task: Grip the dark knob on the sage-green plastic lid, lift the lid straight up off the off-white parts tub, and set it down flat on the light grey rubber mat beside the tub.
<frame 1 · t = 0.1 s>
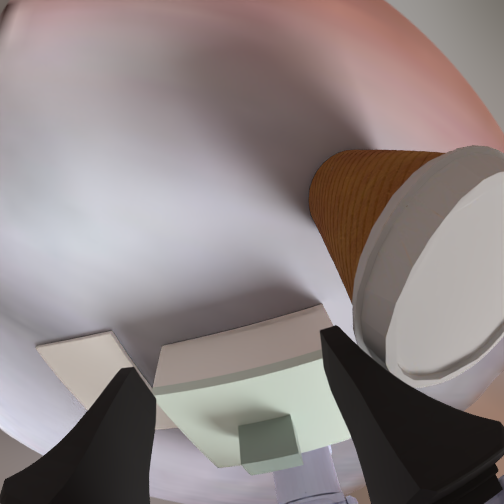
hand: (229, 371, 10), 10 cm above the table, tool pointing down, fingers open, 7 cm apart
disposable coffee cup: (352, 196, 18), on the table
tub: (260, 380, 24), on the table
lid: (266, 420, 20), point 4 cm above the table, touching tub
mat: (109, 390, 24), on the table
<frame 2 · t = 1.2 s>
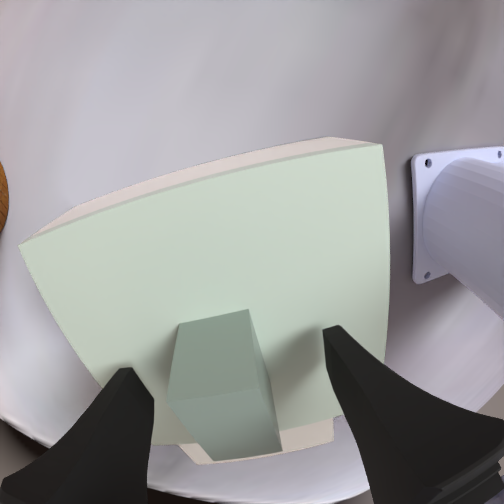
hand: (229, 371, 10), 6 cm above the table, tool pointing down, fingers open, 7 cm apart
tub: (227, 286, 16), on the table
lid: (228, 342, 11), point 4 cm above the table, touching tub
mat: (252, 432, 22), on the table
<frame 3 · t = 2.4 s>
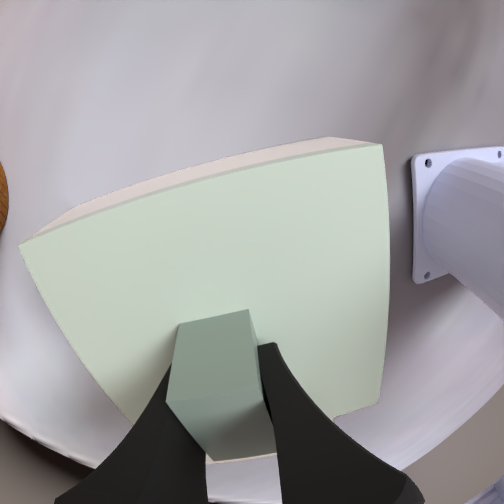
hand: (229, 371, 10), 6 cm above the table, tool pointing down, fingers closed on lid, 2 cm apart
tub: (226, 286, 15), on the table
lid: (228, 342, 11), point 4 cm above the table, touching gripper, tub
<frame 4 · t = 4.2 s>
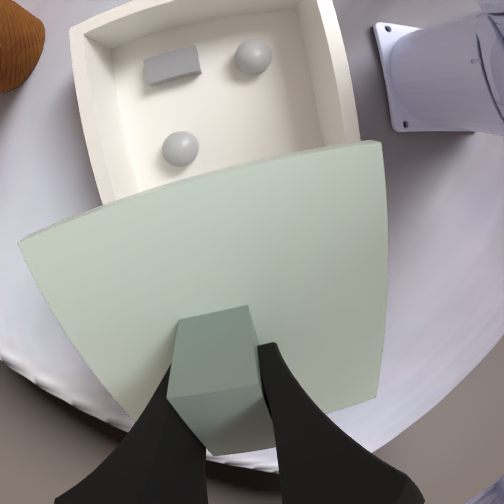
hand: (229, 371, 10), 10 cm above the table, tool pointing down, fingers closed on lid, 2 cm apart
disposable coffee cup: (16, 53, 12), on the table
tub: (217, 106, 16), on the table
lid: (227, 338, 12), point 9 cm above the table, touching gripper
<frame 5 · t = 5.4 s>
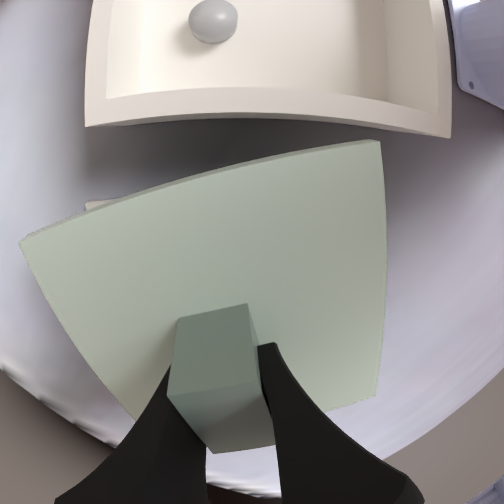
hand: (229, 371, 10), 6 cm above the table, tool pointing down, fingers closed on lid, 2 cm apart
lid: (227, 336, 12), point 4 cm above the table, touching gripper
when the fingers open (4 cm above the table, at t = 6.4 s): lid drops 1 cm, resting on mat.
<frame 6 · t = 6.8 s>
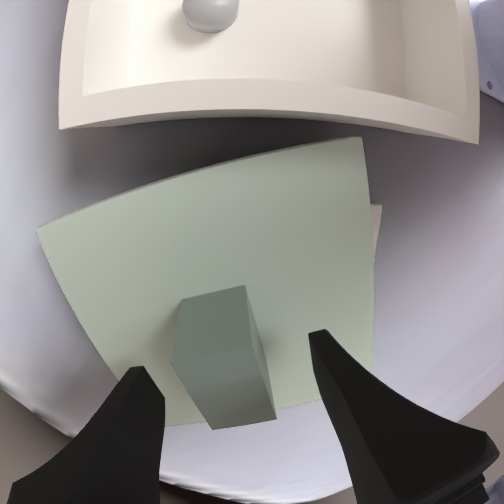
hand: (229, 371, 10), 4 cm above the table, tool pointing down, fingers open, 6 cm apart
lid: (226, 319, 13), point 1 cm above the table, touching mat
mat: (227, 304, 14), on the table
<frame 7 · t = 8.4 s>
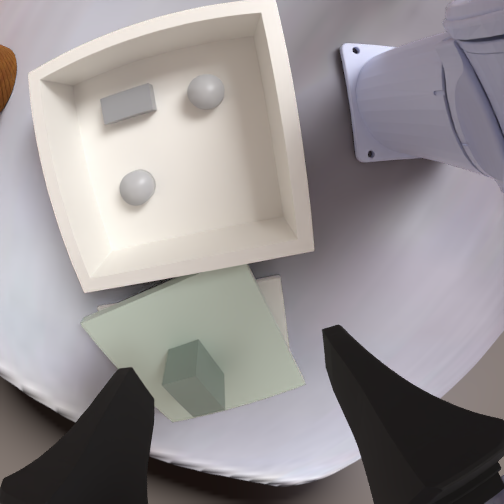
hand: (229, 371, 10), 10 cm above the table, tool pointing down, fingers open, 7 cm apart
tub: (173, 143, 16), on the table
lid: (197, 355, 21), point 1 cm above the table, touching mat
mat: (199, 344, 22), on the table
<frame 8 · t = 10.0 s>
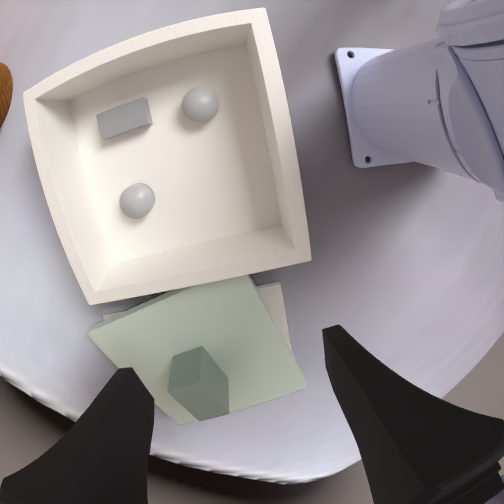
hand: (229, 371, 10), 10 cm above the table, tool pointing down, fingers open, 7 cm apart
tub: (171, 155, 16), on the table
lid: (202, 360, 21), point 1 cm above the table, touching mat
mat: (203, 349, 23), on the table
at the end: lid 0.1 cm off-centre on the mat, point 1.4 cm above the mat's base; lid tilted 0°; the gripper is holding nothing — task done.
